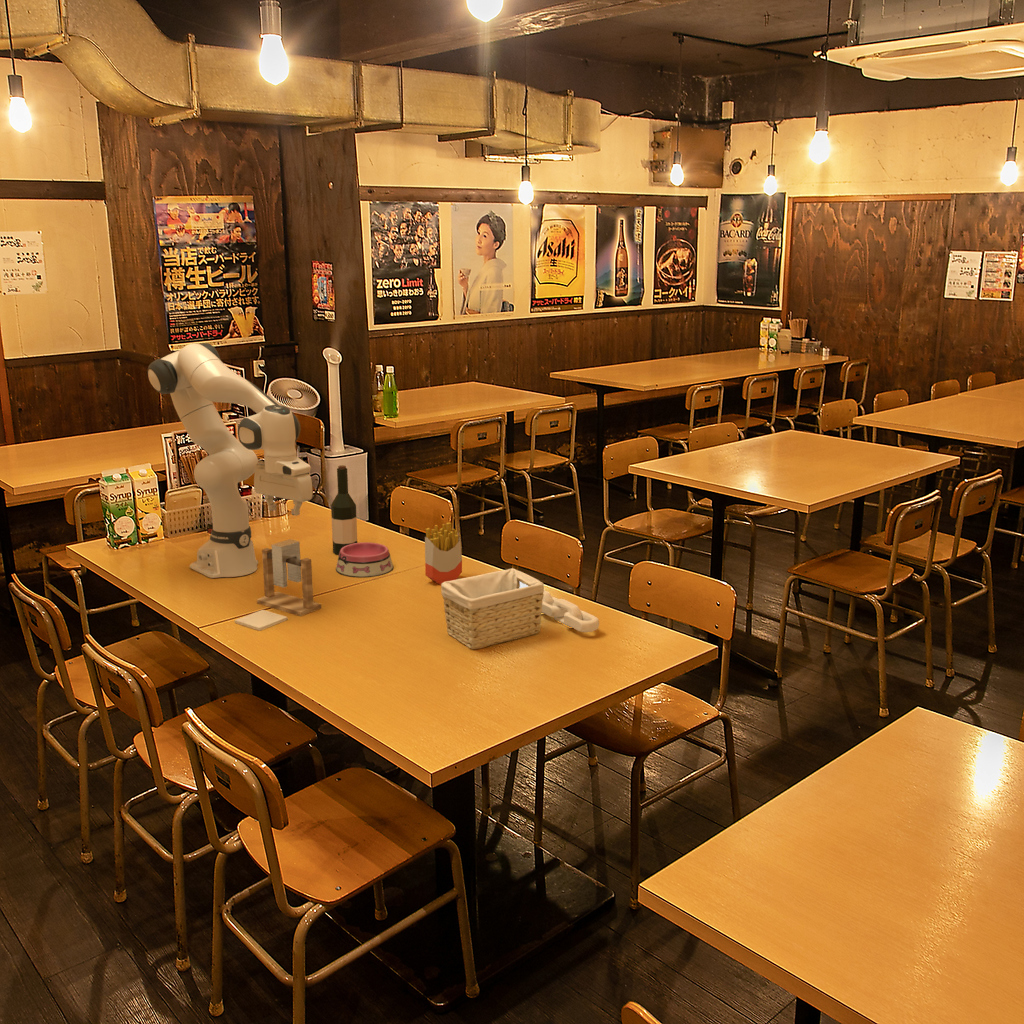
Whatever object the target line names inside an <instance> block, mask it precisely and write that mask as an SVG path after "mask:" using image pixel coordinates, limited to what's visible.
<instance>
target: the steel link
mask: <svg viewBox="0 0 1024 1024" xmlns="http://www.w3.org/2000/svg"><path fill="white" fill-rule="evenodd" d="M271 549H272V561H273V578H274V586H277V587H279V588H280V587H281V588H286V587H288V581H291V582H294V583H302V571H301V566H297V565H293V564H290V563H286V559H289V558H296V559H300V560H301V547H300V541H299V540H295V539H291V538H289V539H288V538H287V539H286V540H282V541H279V542H275V543H273V544H271Z"/></svg>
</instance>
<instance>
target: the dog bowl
mask: <svg viewBox="0 0 1024 1024" xmlns="http://www.w3.org/2000/svg"><path fill="white" fill-rule="evenodd" d="M393 570H394V563H393V560H392V557H391V554H390V550H389V548H388V547H387V546H386V545H385V544H382V543H377V542H363V541H362V542H357V543H354V544H349V545H346V546H344V547H343V548H341V550H340V553H339V555H338V557H337V562H336V567H335V571H336V573H337V574H339V575H341V576H343V577H344V576H345V577H349V578H356V579H357V578H358V579H360V578H361V579H362V578H363V579H365V578H375V577H379V576H380V577H381V576H384V575H387V574H390V573H391V572H392V571H393Z"/></svg>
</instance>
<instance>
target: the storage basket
mask: <svg viewBox="0 0 1024 1024" xmlns="http://www.w3.org/2000/svg"><path fill="white" fill-rule="evenodd" d="M521 583H522V584H523V585H526V586H525V587H524V586H523V587H521ZM440 589H441V590H440V591H441V596H442V599H443V608H444V612H445V613H444V614H445V616H444V617H445V621H446V631H447V634H448V635H449V636H450V637H452V638H454V639H455V640H456V641H458V642H460V643H462V645H464V644H465V646H466V647H467V648H469V649H471V650H477V649H483V648H485V646H486V647H490V645H491V646H493V645H499V644H500V643H505V642H508V641H513V640H512V639H514V640H517V639H520V638H526V637H527V636H532V635H535V634H536V635H537V634H539V633H540V632H541V623H542V622H541V621H542V614H541V613H542V602H543V601H542V599H543V596H544V594H543V592H544V590H545V585H544V582H542V581H540V580H539V579H537V578H535V577H534V576H531V575H529V574H527V573H524V572H523V571H521V570H518V569H515V568H508V569H503V570H496V571H493V572H488V573H483V574H479V575H473V576H468V577H463V578H457V579H456V580H452V581H446V582H443V583H442V584H441V587H440ZM516 638H517V639H516ZM498 643H499V644H498Z"/></svg>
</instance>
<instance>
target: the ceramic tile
mask: <svg viewBox="0 0 1024 1024" xmlns="http://www.w3.org/2000/svg"><path fill="white" fill-rule="evenodd" d="M288 619H289V618H288V616H285V615H283V614H278V613H275V612H271V611H268V610H265V609H262V610H258V611H254V612H253V613H250V614H247V615H244V616H243V617H240V618H239V617H238V618H237V619H234V623H235V624H237V625H240V626H242V627H246V628H249V629H253V630H255V631H258V632H260V631H263V630H266V629H268V628H270V627H274V626H275V625H277V624H280V623H281V624H282V623H284V622H286V621H289V620H288Z"/></svg>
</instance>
